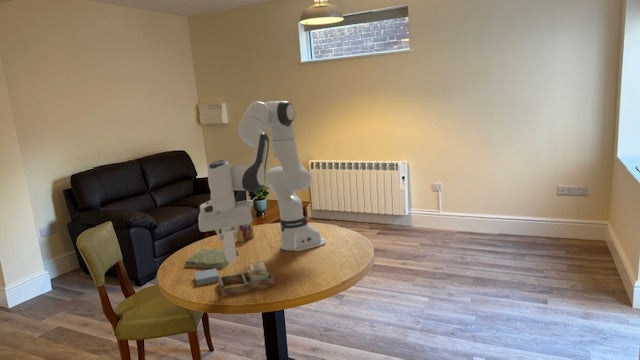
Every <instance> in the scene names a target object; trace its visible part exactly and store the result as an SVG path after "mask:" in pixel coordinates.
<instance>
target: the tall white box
mask: <svg viewBox="0 0 640 360" xmlns="http://www.w3.org/2000/svg"><path fill="white" fill-rule="evenodd" d="M232 228H233V227H229V228H223V229H220V230H221V231H220V232H221V234H223V238H224V240H222V244H223V245H222V246H223V249H224V254H225V258H226V260H227V262H228V263H229V264H230V263H235V262H238V258H237V257H238V256H237V257H236V250H237V249H236V244H235V238H234V234H233V232H234V230H233V229H232Z"/></svg>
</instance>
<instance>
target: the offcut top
mask: <svg viewBox="0 0 640 360" xmlns="http://www.w3.org/2000/svg"><path fill="white" fill-rule="evenodd" d="M249 271H251V274H252V277H255V276H261V275H267V272H266V265H265V262H258V263H251V264H249Z"/></svg>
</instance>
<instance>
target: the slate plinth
mask: <svg viewBox="0 0 640 360" xmlns="http://www.w3.org/2000/svg"><path fill="white" fill-rule="evenodd" d="M217 269H218V268H212V269H204V270H201V271H195V272H194V277H195V284H196V287H198V286H202V285H208V284H213V283H219V281H218V277H220V276H219V273H218V271H217Z"/></svg>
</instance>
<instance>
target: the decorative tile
mask: <svg viewBox="0 0 640 360" xmlns="http://www.w3.org/2000/svg"><path fill="white" fill-rule="evenodd" d="M239 253H240V252H239V249H236V257H238V256H239ZM229 264H230V263H228V262H227V260H226V258H225V254H224V248H222V249H215V248H214V249H204V248H203V249H200V250H198V251H196V252H195V253H194V254H192V255H191V256H190V257H188V258H187V259H186V260H185V261H184V266H183V267H184V268H185V267H191V268H196V267H201V268H200V269H207V268H212V269H215V268H216V269H219V268H220V269H224V268H226V267H227V266H228V265H229Z"/></svg>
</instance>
